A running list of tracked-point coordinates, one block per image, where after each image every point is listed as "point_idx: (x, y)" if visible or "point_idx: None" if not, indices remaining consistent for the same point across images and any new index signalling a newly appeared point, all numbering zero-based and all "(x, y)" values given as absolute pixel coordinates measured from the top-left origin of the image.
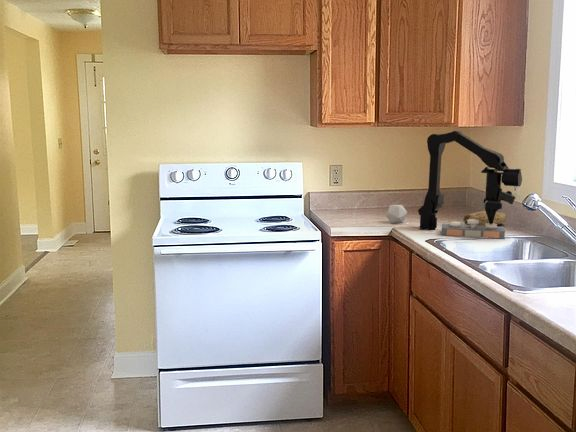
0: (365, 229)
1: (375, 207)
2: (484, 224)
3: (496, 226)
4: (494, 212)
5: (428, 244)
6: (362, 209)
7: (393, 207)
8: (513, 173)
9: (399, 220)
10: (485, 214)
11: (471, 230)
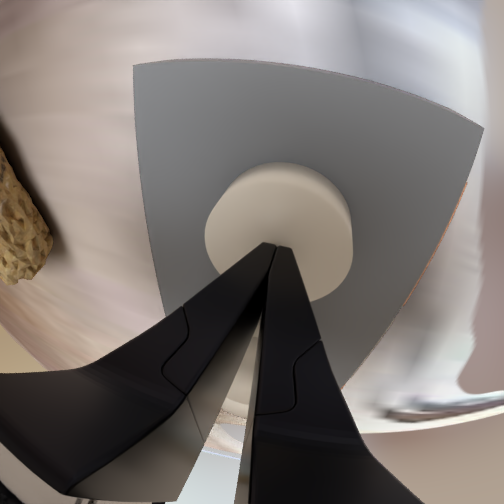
0: None
1: (13, 336)
2: (16, 185)
3: (317, 183)
4: (338, 430)
5: (454, 418)
6: (40, 360)
7: None
8: None
9: None
10: None
11: (365, 359)
